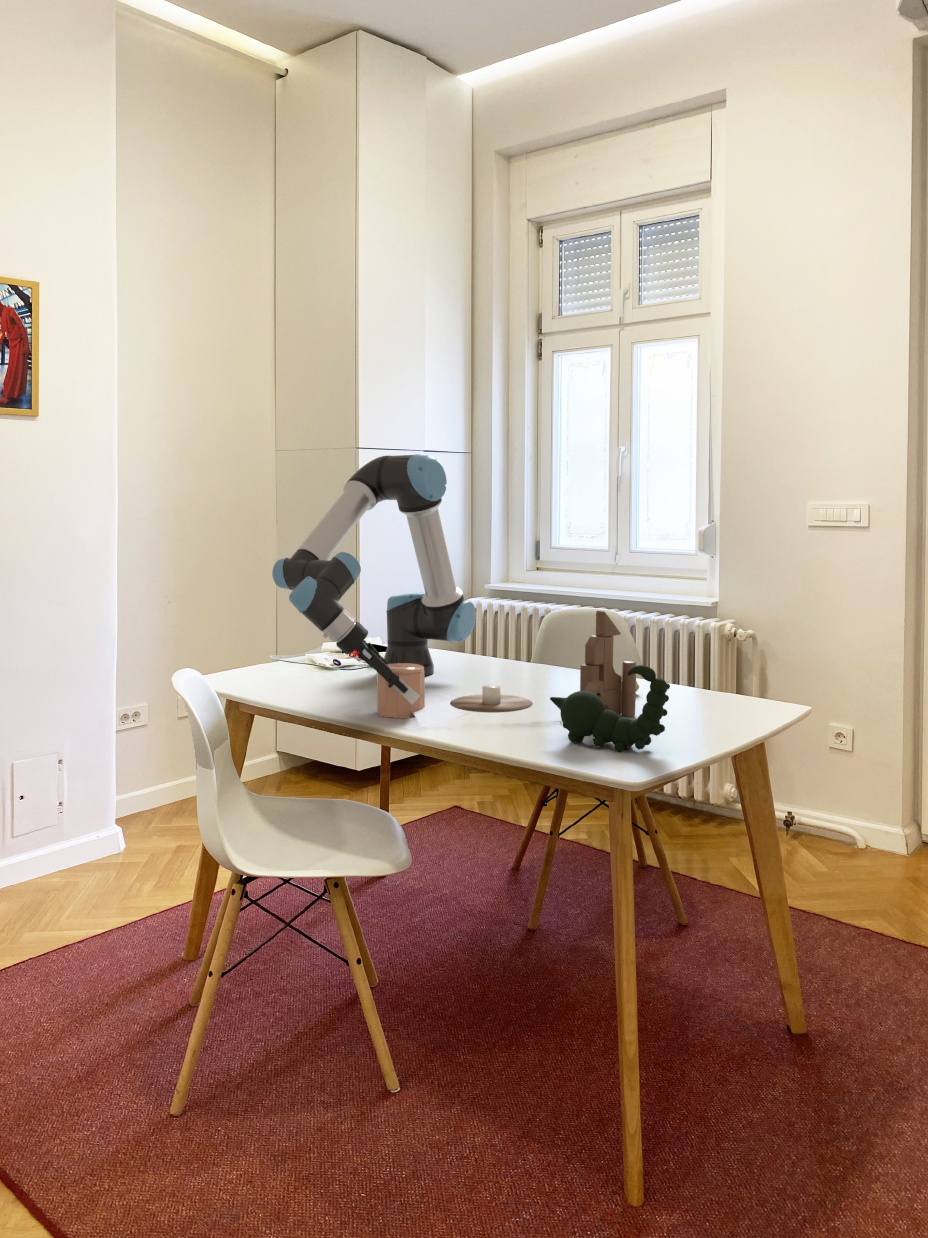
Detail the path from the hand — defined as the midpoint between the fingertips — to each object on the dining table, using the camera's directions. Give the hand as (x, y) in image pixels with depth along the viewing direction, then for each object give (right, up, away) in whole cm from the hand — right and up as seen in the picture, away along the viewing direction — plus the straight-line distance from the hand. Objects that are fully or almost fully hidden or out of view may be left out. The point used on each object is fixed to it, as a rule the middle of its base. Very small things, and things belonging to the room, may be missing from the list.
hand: (412, 695), depth 228 cm
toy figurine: (+42, -8, -30) cm, 52 cm away
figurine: (+53, -2, +17) cm, 56 cm away
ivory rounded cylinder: (+19, -2, +4) cm, 19 cm away
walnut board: (+19, -4, +4) cm, 20 cm away
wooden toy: (+45, -5, -5) cm, 46 cm away
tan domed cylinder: (-3, -4, 0) cm, 5 cm away
